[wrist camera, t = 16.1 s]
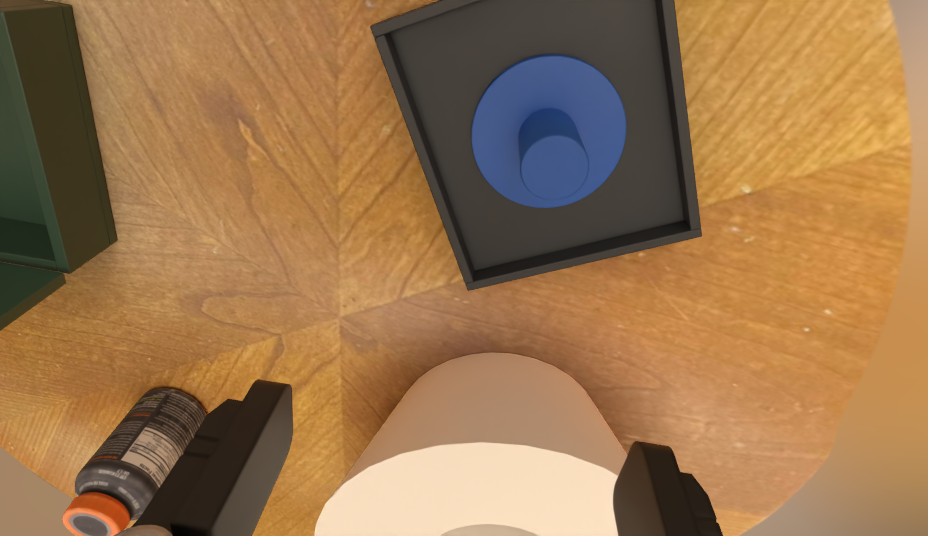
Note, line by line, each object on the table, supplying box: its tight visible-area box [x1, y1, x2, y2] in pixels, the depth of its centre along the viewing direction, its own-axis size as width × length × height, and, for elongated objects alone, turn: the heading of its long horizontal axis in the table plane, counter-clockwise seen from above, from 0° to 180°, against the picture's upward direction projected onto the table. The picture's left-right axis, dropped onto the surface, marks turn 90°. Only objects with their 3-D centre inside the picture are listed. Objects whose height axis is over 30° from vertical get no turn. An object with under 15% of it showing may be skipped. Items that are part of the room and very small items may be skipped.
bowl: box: [315, 352, 628, 536], centre depth 40 cm, size 24×24×12 cm
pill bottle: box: [63, 388, 206, 536], centre depth 42 cm, size 6×6×11 cm
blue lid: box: [471, 54, 626, 208], centre depth 29 cm, size 9×9×6 cm
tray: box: [370, 0, 702, 291], centre depth 31 cm, size 17×15×2 cm
